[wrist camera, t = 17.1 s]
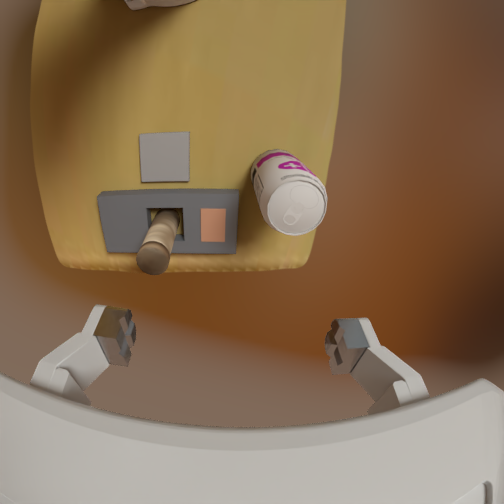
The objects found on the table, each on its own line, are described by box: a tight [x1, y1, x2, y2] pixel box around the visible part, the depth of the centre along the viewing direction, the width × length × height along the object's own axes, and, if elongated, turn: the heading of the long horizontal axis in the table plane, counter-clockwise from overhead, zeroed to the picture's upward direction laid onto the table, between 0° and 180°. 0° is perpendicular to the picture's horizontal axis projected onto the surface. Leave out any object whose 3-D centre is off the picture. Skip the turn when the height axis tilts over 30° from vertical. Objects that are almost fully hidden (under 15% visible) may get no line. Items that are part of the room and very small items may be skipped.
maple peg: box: [136, 208, 180, 275], centre depth 40 cm, size 4×4×13 cm
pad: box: [139, 132, 190, 182], centre depth 39 cm, size 8×8×1 cm
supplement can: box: [251, 149, 327, 236], centre depth 36 cm, size 8×8×15 cm
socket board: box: [97, 189, 239, 254], centre depth 44 cm, size 24×11×3 cm, turn 86°
